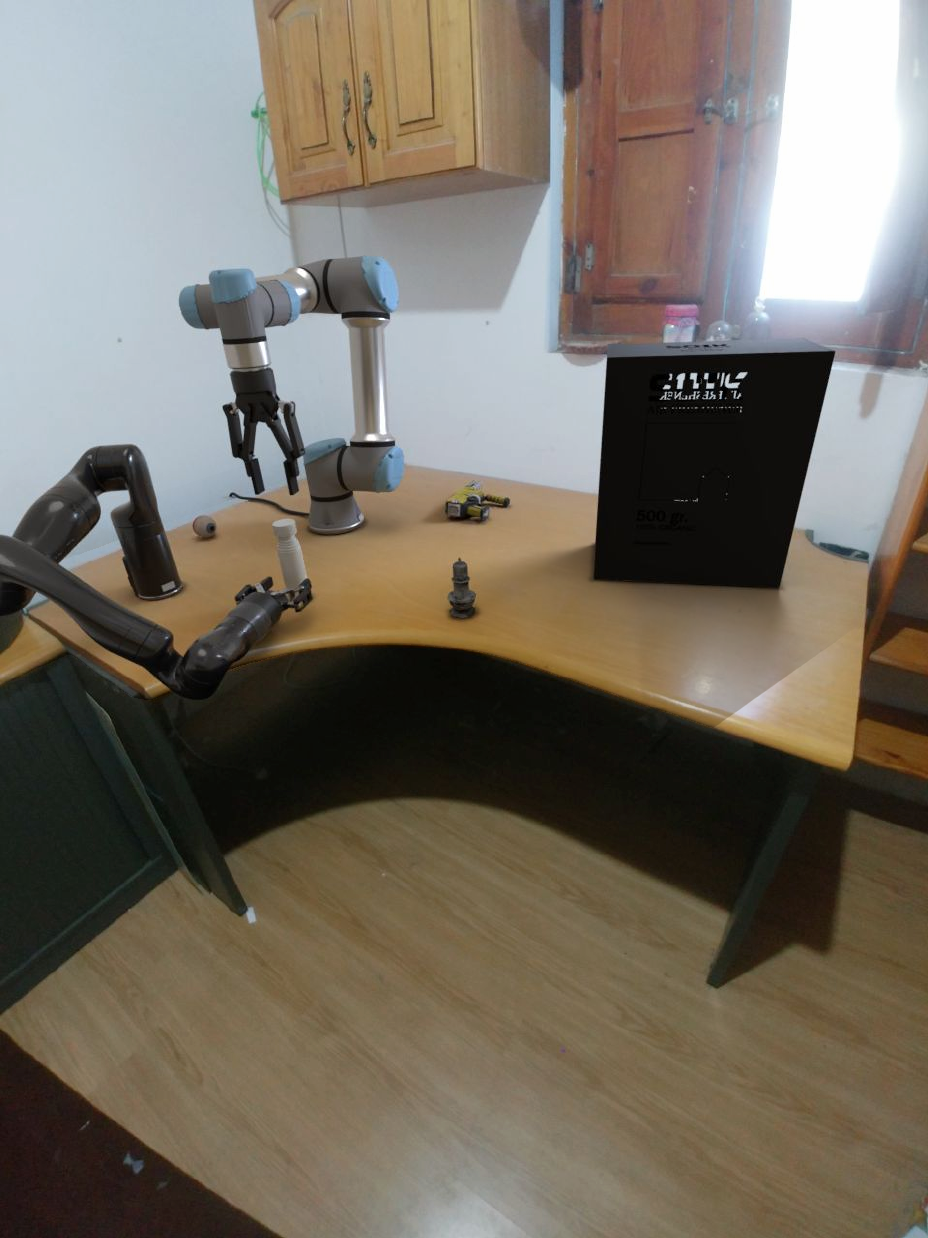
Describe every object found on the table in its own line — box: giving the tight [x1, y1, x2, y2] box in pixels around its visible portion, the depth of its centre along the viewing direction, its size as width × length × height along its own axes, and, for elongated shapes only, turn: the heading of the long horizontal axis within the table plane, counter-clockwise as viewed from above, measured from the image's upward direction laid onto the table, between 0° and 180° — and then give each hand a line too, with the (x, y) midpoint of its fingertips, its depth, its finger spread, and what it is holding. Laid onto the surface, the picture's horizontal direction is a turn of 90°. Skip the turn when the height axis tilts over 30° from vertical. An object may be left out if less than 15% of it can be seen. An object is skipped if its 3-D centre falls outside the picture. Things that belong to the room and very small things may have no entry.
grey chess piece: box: [446, 556, 477, 619], centre depth 120 cm, size 6×6×12 cm
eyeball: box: [192, 514, 217, 538], centre depth 165 cm, size 6×6×6 cm
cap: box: [271, 518, 298, 538], centre depth 123 cm, size 4×4×2 cm
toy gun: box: [444, 480, 511, 521], centre depth 175 cm, size 5×24×15 cm
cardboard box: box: [592, 337, 836, 589], centre depth 125 cm, size 38×20×45 cm, turn 78°
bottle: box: [276, 534, 308, 602], centre depth 127 cm, size 5×5×17 cm
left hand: (289, 581), depth 126 cm, fingers open, 8 cm apart
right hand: (277, 492), depth 119 cm, fingers open, 7 cm apart
